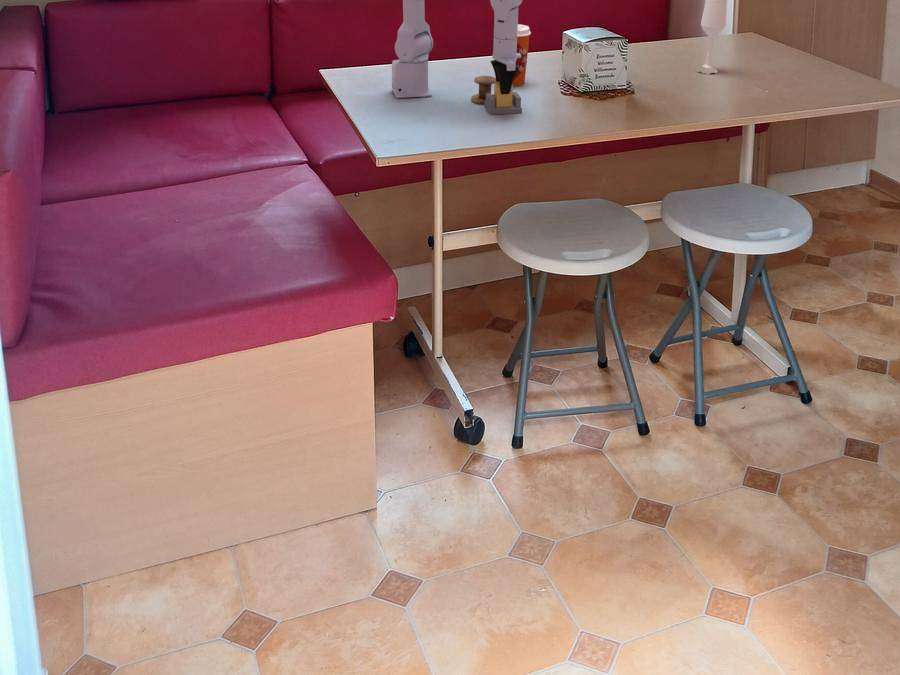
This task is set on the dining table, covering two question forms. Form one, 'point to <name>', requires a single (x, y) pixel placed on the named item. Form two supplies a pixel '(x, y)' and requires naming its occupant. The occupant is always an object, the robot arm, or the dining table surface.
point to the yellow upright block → (502, 96)
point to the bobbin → (483, 88)
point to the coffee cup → (523, 50)
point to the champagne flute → (713, 22)
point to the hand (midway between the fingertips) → (503, 91)
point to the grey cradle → (503, 110)
